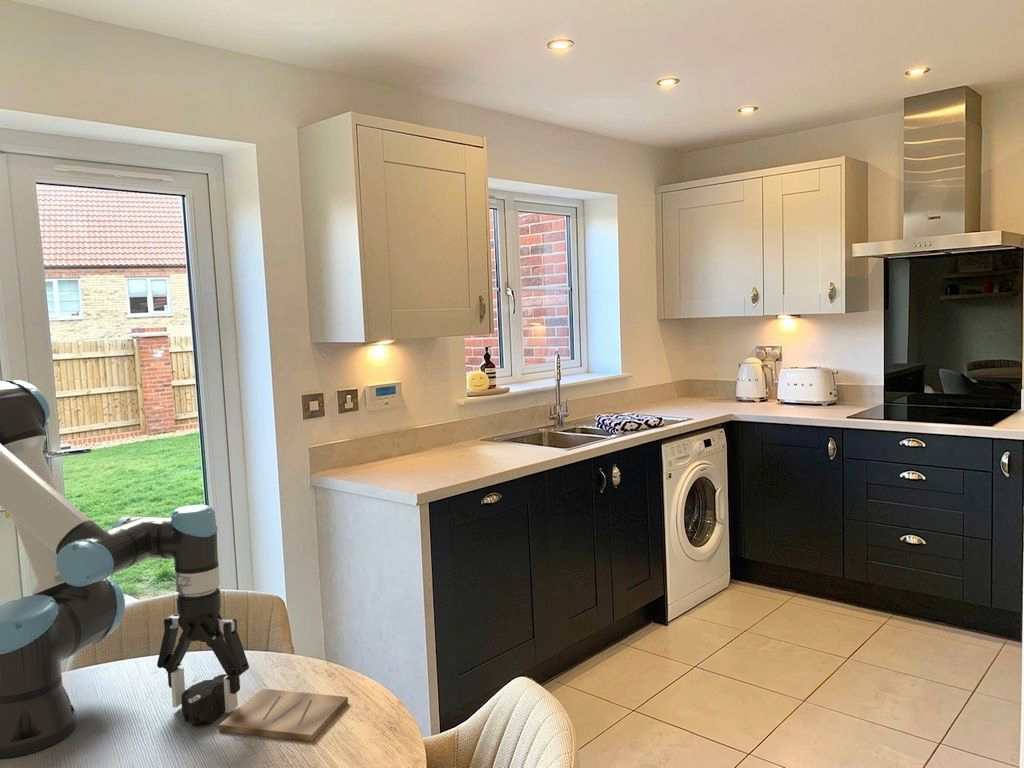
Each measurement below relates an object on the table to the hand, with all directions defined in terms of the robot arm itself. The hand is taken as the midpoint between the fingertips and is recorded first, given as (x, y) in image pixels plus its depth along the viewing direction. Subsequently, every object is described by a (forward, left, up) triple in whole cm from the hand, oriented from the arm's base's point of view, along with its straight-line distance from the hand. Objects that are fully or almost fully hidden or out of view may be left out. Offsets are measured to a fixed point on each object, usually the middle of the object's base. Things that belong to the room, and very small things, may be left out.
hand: (205, 706), depth 146 cm
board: (+16, +1, -1) cm, 16 cm away
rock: (+1, 0, -1) cm, 2 cm away
